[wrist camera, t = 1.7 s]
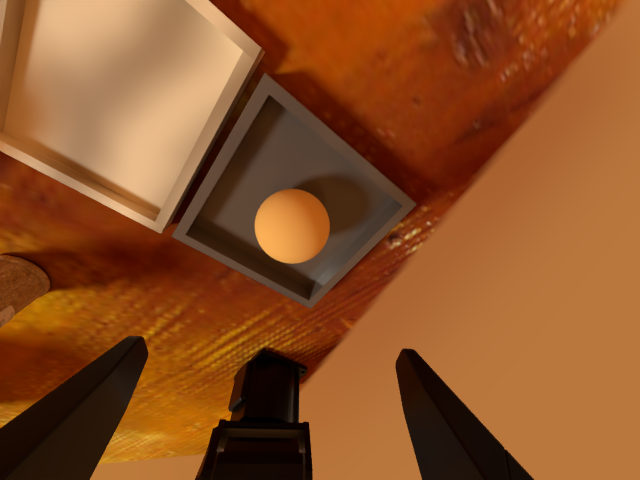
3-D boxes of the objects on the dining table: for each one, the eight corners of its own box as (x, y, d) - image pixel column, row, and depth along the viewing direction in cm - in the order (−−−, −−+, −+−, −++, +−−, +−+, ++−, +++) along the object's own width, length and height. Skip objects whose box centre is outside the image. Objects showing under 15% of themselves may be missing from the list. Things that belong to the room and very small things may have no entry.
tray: (265, 52, 15) (261, 47, 13) (170, 224, 20) (160, 233, 18) (43, -148, 11) (7, -180, 9) (-3, 132, 16) (-29, 135, 15)
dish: (406, 193, 19) (417, 204, 18) (310, 291, 24) (310, 308, 22) (269, 75, 15) (264, 72, 13) (184, 222, 20) (171, 236, 18)
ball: (340, 205, 19) (350, 238, 15) (301, 249, 21) (300, 290, 17) (285, 164, 17) (278, 188, 13) (248, 217, 19) (232, 253, 15)
